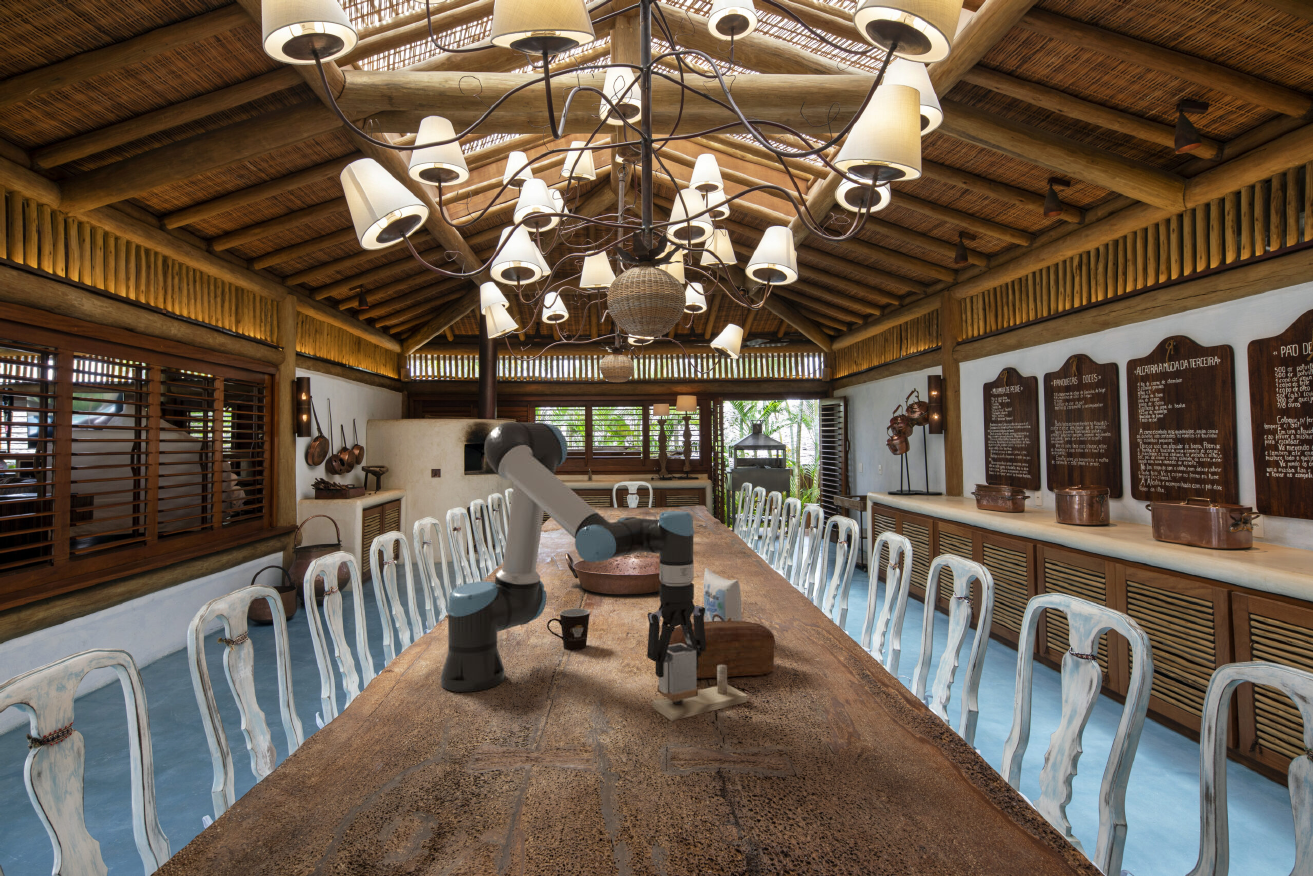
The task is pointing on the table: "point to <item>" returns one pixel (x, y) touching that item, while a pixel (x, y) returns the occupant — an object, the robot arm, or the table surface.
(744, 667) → the bread
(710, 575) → the pouch
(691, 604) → the robot arm
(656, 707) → the pin board
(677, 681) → the sleeve
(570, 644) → the coffee mug
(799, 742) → the table surface
